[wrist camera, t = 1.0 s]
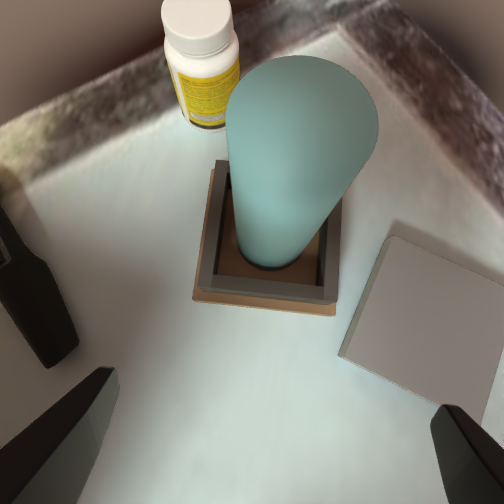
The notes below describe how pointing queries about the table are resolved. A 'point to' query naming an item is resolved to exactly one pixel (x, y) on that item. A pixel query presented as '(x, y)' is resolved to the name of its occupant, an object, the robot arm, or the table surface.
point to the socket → (258, 281)
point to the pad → (429, 327)
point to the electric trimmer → (33, 298)
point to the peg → (293, 152)
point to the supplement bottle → (202, 59)
